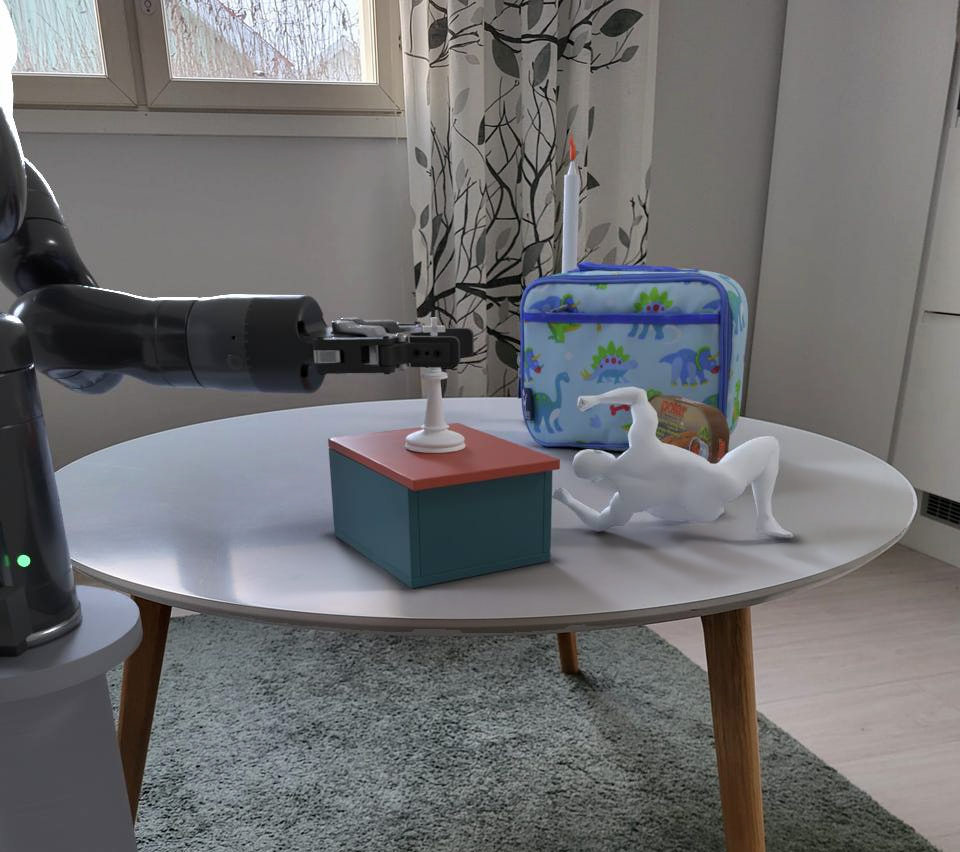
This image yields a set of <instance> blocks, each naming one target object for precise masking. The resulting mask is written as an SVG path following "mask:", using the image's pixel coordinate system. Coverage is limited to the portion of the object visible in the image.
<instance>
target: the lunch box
mask: <svg viewBox="0 0 960 852" xmlns="http://www.w3.org/2000/svg"><path fill="white" fill-rule="evenodd" d="M519 307H520V308H519V310H520V311H519V312H520V313H519V315H520V317H519V318H520V319H519V324H520V327H519V328H520V329H519V331H520V332H519V334H520V342H519V343H520V348H519V349H520V354H518V356H517V357H516V363H517V365H518V366H519V368H517V399H518V400H519V399H520V400H521V409H522V416H523V420H524V423H525V426H526V429H527V431H528V433H529V435H530V436H531V438H532V439H533V441H534V442H535V443H537V444H538V445H540V446H542V447H548V448H550V447H559V448H564V447H569V448H570V447H571V448H580V449H591V450H601V451H616V452H626V451H627V450H628V449H629V448H630V446H629V439H628V433H629V430H630V427H631V426H632V424H633V417H632V413H631V406H632V404H628V405H626V404H619V403H606V404H597V405H594V406H593V407H591V408H589V409H587V410H585V411H583V412H581V411H580V409H579V408H578V407H577V404H578V397H579V396H596V395H601V394H604V393H607V392H609V391H612V390H615V389H618V388H624V387H636V388H640V389H643V390H645V391H646V394H647V399H649V398H650V397H651V396H653V395H656V394H660V395H673V396H679V397H682V398H686V399H689V400H693V401H696V402H700V403H704V404H707V405H711V406H714V407H716V408H718V409H719V410H720V411H721V412H722V414H723V415H724V417H725V419H726V421H727V424H728V427H729V433H730V436H731V435H732V434H733V433H734V431H735V429H736V427H737V425H738V424H739V423H738V422H739V419H740V414H741V405H742V397H743V383H744V382H743V381H744V370H745V359H746V346H747V335H748V325H749V308H748V307H749V306H748V301H747V296H746V293H745V291H744V288H743V287H742V286H741V284H739V283H738V282H737V281H736V280H735V279H734V278H732V277H730V276H727V275H726V274H722V273H719V272H714V271H709V270H703V269H702V270H700V269H699V268H696V269H695V268H694V269H693V268H692V269H691V268H679V267H672V266H666V265H657V266H654V265H653V266H652V265H641V264H634V265H632V264H631V265H630V264H629V265H628V264H608V263H607V264H606V263H605V264H603V263H602V264H600V263H595V262H591V261H589V260H585V261H582V262H579V263H577V269H574V270H571V271H567V273H562V272H560V273H556V274H552V275H548V276H542V277H541V276H540V277H539V278H536V279H534V280H532V281H531V282H530V283H528V285H526V287H525V289H524V290H523V292H522V296H521V300H520V306H519Z"/></svg>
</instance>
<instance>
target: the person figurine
mask: <svg viewBox="0 0 960 852" xmlns="http://www.w3.org/2000/svg"><path fill="white" fill-rule="evenodd" d="M606 403H619V404H626V405H628V404H632V406H631V413H632V417H633V424H632V426H631V427H630V430H629V433H628V439H629V446H630V448H629V449H628V450H627V451H623V453H622V454H620V455H619V456H617V457H616V456H615V455H614V454H613V453H610V452H606V451H605V450H601V449H591V448H585V449H582V450H579V451H578V452H577V453H576V454H575V455H574V457H573V460H572V470H573V472H574V474H575V475H576V476H577V477H578V478H580V479H584V480H589V482H591V483H597V482H600V481H601V480H606V479H608V480H610V482H612V484H613V485H614V487H615V489H616V491H617V492H615V493H614V494H613V497H612V498H611V499H610V501H609V505H608V506H606V507H605V508H604V509H603V510H602V511H601V512H599V511H598V510H595V509H593V508H591V507H589V506H587V505H586V504H584V503H582V502H580V501H579V500H577V499H576V498H573V496H572V494H571V493H570V492H569V491H568V490H566V489H565V488H564V486H558V487H557V488H556V489H555V490H554V491H553V492H552V499H554V500H556V501H558V502H560V503H562V504H563V505H565V506H567V508H568V509H569V510H571V511H572V512H573V513H574V514H575V515H576V516H577V517H578V518H579V520H580V521H581V522H582V523H583V524H584V525H585V526H587V527H588V528H589V529H592V530H593V531H595V532H597V533H599V532H603V531H604V530H606V529H609V528H612V527H622V526H625V525H627V524H628V523H630V521H631V518H632V517H633V515H634V514H636V513H637V514H639V513H643V512H646V513H648V514H649V515H650V516H652V517H654V518H657V519H662V520H666V521H669V522H673V523H681V522H696V523H700V524H707V523H708V524H709V523H712V522H714V521H715V520H717V519H718V518H719V517H720V516H721V515H723V514H724V513H725V510H724V507H725V506H724V504H727V503H731V502H732V501H734V500H735V499H736V498H738V497H739V496H741V495H742V494H743V493H744V492H745V489H746V488H747V487H748V486H749V485H751V487H752V488H751V489H752V494H753V499H754V504H755V508H756V509H755V510H756V514H757V516H756V517H757V518H756V524H755V533H756V534H758V535H769V536H770V535H771V536H775V537H776V538H784V539H789V538H790V539H792V538H793V537H794V535H793V533H792V532H791V531H787V530H786V529H784V528H783V527H781V526H780V524H779V523H778V522H777V520H776V519H775V517H774V515H773V513H772V497H773V493H774V489H775V485H776V481H777V476H778V474H779V469H780V453H781V449H780V441H779V440H778V439H777V438H776V437H775V436H772V435H771V436H770V435H764V436H763V435H762V436H759V437H755V438H753V439H750V440H747V441H745V442H743V443H742V444H740V445H739V446H737V447H735V448H734V449H732V450H730V451H728V453H727V454H726V455H725V456H724V457H723V458H722V459H721V460H720V462H719V463H717V464H710V463H709V462H708V461H707V460H706V459H705V458H703V457H701V456H699V455H697V454H695V453H692V452H690V451H688V450H685V449H683V448H680V447H677V446H674V445H670V444H666V443H662V442H661V441H660V440H659V439H658V438H657V437H656V429H657V425H658V417H657V412H656V411H655V409H654V408H653V407H652V406H651V404H650V403H649V402H648V399H647V394H646V391H645V390H643V389H640V388H636V387H624V388H618V389H615V390H612V391H609V392H607V393H604V394H601V395H596V396H579V397H578V404H577V407H578V408H579V409H580V411H581V412H583V411H585V410H587V409H589V408H591V407H593V406H594V405H597V404H606Z"/></svg>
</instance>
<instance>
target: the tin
mask: <svg viewBox="0 0 960 852" xmlns="http://www.w3.org/2000/svg"><path fill="white" fill-rule="evenodd" d="M648 402H649V403H650V404H651V406H652V407H653V408H654V409H655V411H656V412H657V417H658V425H657V429H656V437H657V438H658V439H659V440H660V441H661V442H662V443H666V444H670V445H674V446H677V447H680V448H683V449H685V450H688V451H690V452H692V453H695V454H697V455H699V456H701V457H703V458H705V459H706V460H707V461H708V462H709V463H710V464H717V463H719V462H720V460H721V459H722V458H723V457H724V456H725V455H726V454H727V453H729V449H730V440H731V439H730V438H731V435H730V433H729V427H728V424H727V421H726V419H725V417H724V415H723V414H722V412H721V411H720V410H719V409H718V408H716V407H714V406H711V405H707V404H704V403H700V402H696V401H693V400H689V399H686V398H682V397H679V396H673V395H660V394H656V395H653V396H651V397H650V398H649V399H648Z"/></svg>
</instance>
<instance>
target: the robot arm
mask: <svg viewBox="0 0 960 852" xmlns="http://www.w3.org/2000/svg"><path fill="white" fill-rule="evenodd" d="M17 53H18V46H17V38H16V34H15V29H14V25H13V22H12V19H11V16H10V14H9V11H8V9H7V6H6V4H5V2H4V0H0V283H1V284H2V286H3V287H4V288H5V289H6V290H8V292H10V293H11V294H12V295H13V296H14V297H15V299H14V301H13V302H12V303H11V304H10V305H9V307H8V308H7V311H6V312H4V311H2V310H0V657H17V656H20V655H22V654H23V653H24V652H26V651H27V650H29V649H32V648H35V647H38V646H41V645H44V644H47V643H50V642H53V641H55V640H57V639H60V638H62V637H64V636H66V635H67V634H69V633H71V632H72V631H74V630H75V629H76V628H77V627H78V626H79V625H80V624H81V622H82V620H83V614H82V609H81V604H80V601H79V600H78V596H77V590H76V585H77V584H76V581H75V575H74V569H73V564H72V560H71V555H70V550H69V545H68V539H67V534H66V528H65V523H64V518H63V512H62V507H61V501H60V497H59V491H58V486H57V479H56V474H55V470H54V464H53V459H52V454H51V453H52V452H51V448H50V443H49V438H48V437H49V436H48V432H47V428H46V427H47V426H46V421H45V416H44V410H43V404H42V400H41V394H40V388H39V382H38V376H37V373H38V374H40V375H42V376H44V377H46V378H48V379H50V380H51V381H53V382H55V383H57V384H59V385H61V386H62V387H65V388H66V389H68V390H70V391H73V392H75V393H78V394H81V395H82V394H83V395H87V396H96V395H97V396H99V395H103V394H106V393H109V392H111V391H113V390H114V389H116V388H117V387H118V386H119V385H120V384H121V382H122V381H123V379H124V378H125V376H128V377H132V378H134V379H137V380H138V381H141V382H143V383H146V384H149V385H152V386H157V387H163V388H179V389H180V388H182V389H213V390H220V391H224V392H225V391H226V392H231V393H261V394H264V393H265V394H304V395H305V394H307V395H309V394H313V393H316V392H317V391H318V390H319V389H320V388H321V387H322V385H323V383H324V380H325V377H326V376H327V374H329V375H330V374H331V375H333V374H334V375H343V376H347V375H352V374H367V375H377V374H383V375H391V373H395V372H396V370H397V371H398V372H405V371H406V370H409V369H410V368H428V367H436V368H441V369H442V368H443V369H444V368H446V369H454V368H456V367H458V366H459V364H460V362H461V358H470V356H472V355H473V354H474V347H475V345H474V344H475V343H474V342H475V341H474V331H473V330H472V329H471V328H469V327H445V332H437V336H431V332H426V333H424V332H423V326H427V325H426V324H425V322H421V321H414V322H401V321H396V320H394V319H362V318H361V317H359V316H357V317H356V316H355V317H352V316H351V317H341V319H340V320H332V321H331V326H328V325H327V323H326V321H325V319H324V313H323V311H322V307H321V306H320V304H319V303H318V301H317V300H316V299H315V298H314V297H313V296H310V295H307V294H225V295H217V296H212V297H211V296H210V297H157V298H152V297H151V298H150V297H142V296H138V295H134V294H130V293H126V292H121V291H114V290H109V289H104V288H101V287H100V285H99V284H98V282H97V281H96V279H95V277H94V276H93V274H92V273H91V272H90V270H89V268H88V267H87V266H86V264H85V263H84V261H83V260H82V258H81V256H80V254H79V252H78V251H77V247H76V244H75V242H74V240H73V237H72V234H71V231H70V230H69V227H68V225H67V223H66V220H65V218H64V216H63V213H62V211H61V209H60V207H59V204H58V202H57V200H56V197H55V196H54V194H53V191H52V190H51V188H50V186H49V184H48V183H47V181H46V179H45V178H44V177H43V175H42V174H41V173H40V172H39V171H38V169H36V167H35V166H34V165H33V164H32V163H31V162H29V160H28V159H27V158H25V157H24V153H23V149H22V145H21V141H20V137H19V134H18V130H17V127H16V124H15V121H14V118H13V106H14V104H13V103H14V89H13V78H12V72H11V71H12V68H13V67H14V65H15V64H16V60H17V55H18V54H17ZM408 334H410V335H408Z"/></svg>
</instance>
